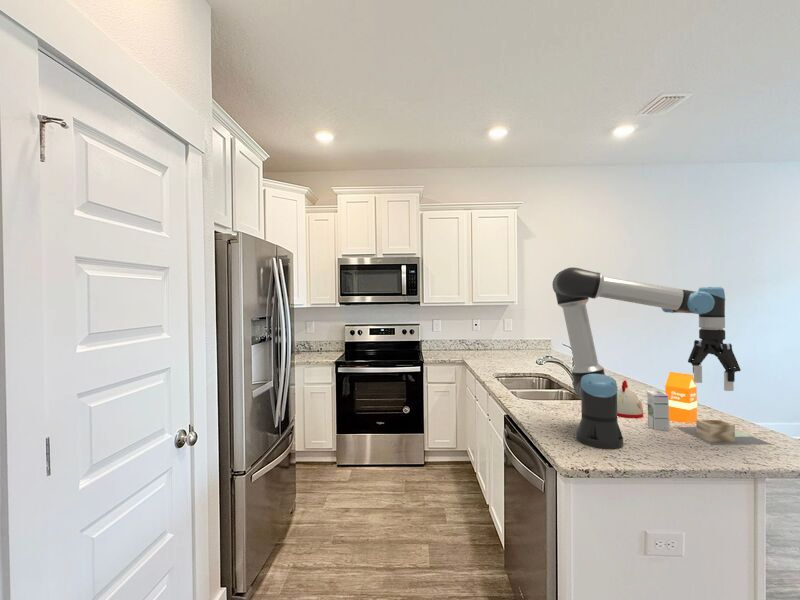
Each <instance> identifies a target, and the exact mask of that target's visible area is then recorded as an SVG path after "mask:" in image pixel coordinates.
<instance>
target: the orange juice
mask: <svg viewBox="0 0 800 600" xmlns="http://www.w3.org/2000/svg"><path fill="white" fill-rule="evenodd" d="M697 387H698V386H697V383H694V374H689V373H681V372H673V371H669V372H668V376H667V379H666V383H665V386H664V388H665V389H664V391H665V392H664V393H666V394H668V398H669V421H671V420H672V422H675V423H676V422H677V423H687V424H692V423H696V420H698V394H697V391H698V388H697Z"/></svg>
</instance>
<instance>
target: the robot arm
mask: <svg viewBox="0 0 800 600" xmlns="http://www.w3.org/2000/svg"><path fill="white" fill-rule="evenodd" d="M552 290H553V291H554V294H555V298H556V302H557V305H558V306H559V307H561V308H562V310H563V311H562V312H563V315H564V321H565V325H566V330H567V331H566V332H567V335H568V339H569V344H570V349H571V353H572V358H573V363H574V367H573V368H572V369H571V374H572V377H573V378H572V379H573V382H572V383H573V385H572V386H573V389H574V390H573V391H574V392H575V394H576V395H577V396H578V398H579V399H580V403H581V404H580V405H581V406H580V407H581V410H580V411H581V419H580V421H579V425H578V427H577V430H576V440H577V442H579V443H581V444H584V445H587V446H590V447H593V448H598V449H620V448H623V446H624V436H623V435H622V431H621V428H620V425H619V422H618V417H617V391H618V389H619V388H618V384H617V380H616V379H614V378H613V377H611V376H609V375H606V373H605V368H604V367H603V366H602V365H601V364H599V360H598V356H597V352H596V351H597V350H596V348H595V347H596V346H595V343H594V338H593V334H592V333H593V332H592V328H591V322H590V319H589V314H588V309H587V303H588V301H589V299H597V298H603V299H604V298H605V299H610V300H617V301H622V302H628V303H632V304H638V305H644V306H651V307H656V308H661V310H662V311H663V312H664V313H672V314H674V313H675V314H677V313H678V314H679V313H680V314H693V315H694V314H696V315H698V328H700V329H699V330H698V338H699V339H695V340H694V342H693V346H692V349H691V352H690V355H689V357H688V359H687V362H688V363H689V364H691V365H692V373H693V378H694V383H695V384H702V383H703V365H702V363H703V361H704V360H705V358H706V357H707V356H708V355H712V356H713V355H714V356H715V357H716V358H717V360H718V361H719V363H720V364H721V365H722V367H723V368H724V371H723V391H725V392H734V388H735V387H734V383H735V377H736V376H735V373H737V372H741V367H740V365H739V363H738V360H737V358H736V355H735V354H734V351H733V345H732V343H724V341H725V340H726V330H725V328H726V312H725V311H726V295H725V294H726V293H725V289H724V288H723V287H722V286H703V287H699V288H698V290H697V291H694V290H688V289H681V288H676V287H672V286H671V287H670V286H664V285H659V284H651V283H646V282H642V281H641V282H639V281H634V280H633V281H632V280H628V279H622V278H617V277H609V276H604V275H603V274H602V273H601V272H597V271H591V270H587V269H585V268H584V269H583V268H579V267H572V266H571V267H567V268H565V269H563V270H561V271H559V272H558V273H557V274H556V275H555V276H554V277H553V279H552Z"/></svg>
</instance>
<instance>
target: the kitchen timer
mask: <svg viewBox="0 0 800 600" xmlns="http://www.w3.org/2000/svg"><path fill="white" fill-rule="evenodd" d="M628 385H629V384H628V382H627V380H625V379H624V380H623V381H622V384H621V387H620V388H618V391H617V416H618V417H619V418H624V419H634V418H635V419H642V418H644V407H643V402H642V399H640V398H639V397H638V395H637V393H635V392H634V391H633V390H632V389H630V388H629V386H628ZM618 417H617V418H618Z"/></svg>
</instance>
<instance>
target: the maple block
mask: <svg viewBox="0 0 800 600" xmlns="http://www.w3.org/2000/svg"><path fill="white" fill-rule="evenodd" d="M695 423H696V426H695V427H697V437H699V438H702V439H704V440H706V441H708V442H735V430H736V425H735V424H733V423H730V422H727V421H725V420H722V419H697V420H696V422H695Z"/></svg>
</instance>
